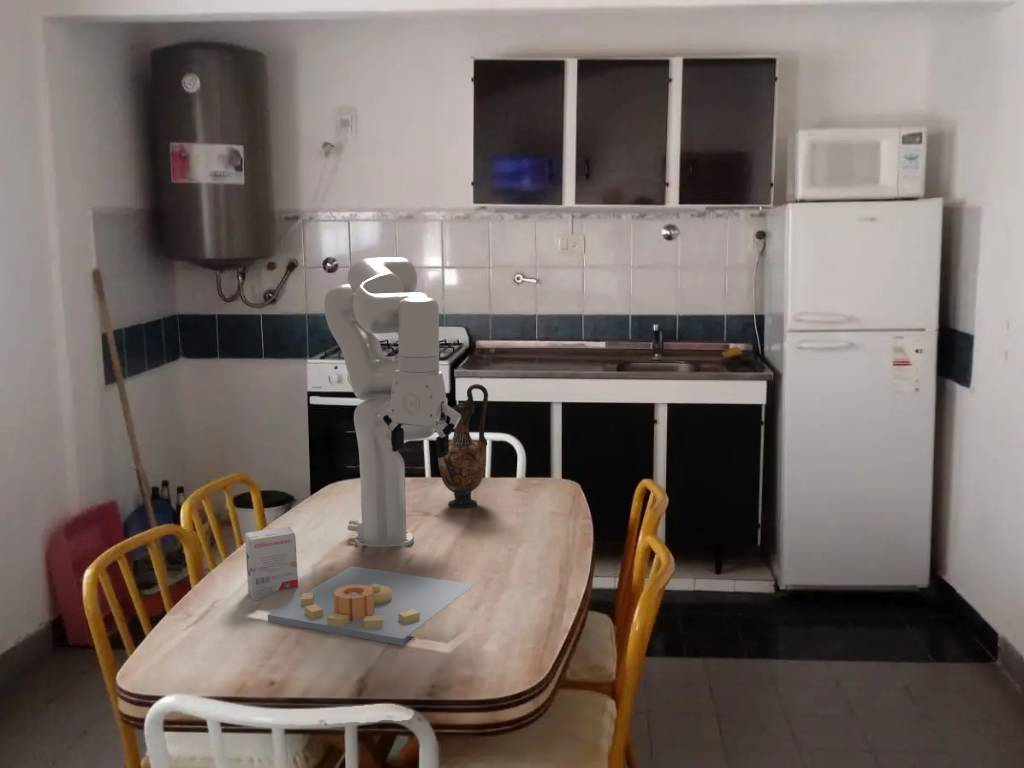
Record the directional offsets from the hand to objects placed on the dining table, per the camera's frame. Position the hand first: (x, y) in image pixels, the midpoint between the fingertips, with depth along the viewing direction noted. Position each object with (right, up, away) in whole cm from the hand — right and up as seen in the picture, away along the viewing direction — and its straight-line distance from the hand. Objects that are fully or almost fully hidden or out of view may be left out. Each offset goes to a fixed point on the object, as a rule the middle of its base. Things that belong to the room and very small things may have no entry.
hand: (419, 453), depth 190 cm
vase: (+6, -17, +56) cm, 58 cm away
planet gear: (-10, -27, -15) cm, 33 cm away
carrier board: (-7, -27, -9) cm, 29 cm away
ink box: (-27, -26, -2) cm, 38 cm away
